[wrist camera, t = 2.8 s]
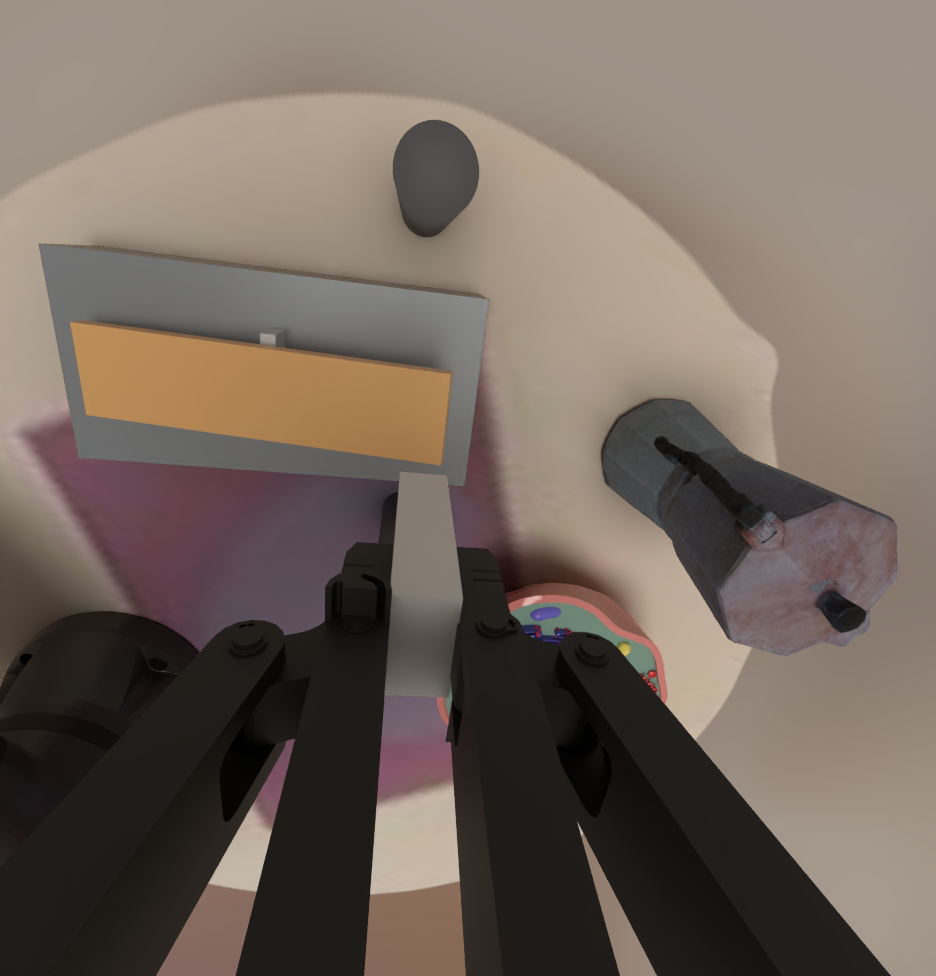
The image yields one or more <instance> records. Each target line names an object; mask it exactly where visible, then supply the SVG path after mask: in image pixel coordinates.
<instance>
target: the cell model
mask: <svg viewBox="0 0 936 976" xmlns="http://www.w3.org/2000/svg"><path fill="white" fill-rule="evenodd" d="M505 594H506V598H507V602H508V606H509V610H510V613H511V614H512V615H513V616H514V617H515V618H516V619H518V620H519V621H520V623H521V625H522V627H523V629H524V633H526V634H528V635H529V636H531V637H533V638H536V639H539V640H542V641H545V642H549V643H552V644H556V645H560V643H561V640H562V639H563V638H564V637H565V636H566V635H568V634H571V633H574V632H589V633H593V634H596V635H600V636H601V637H603V638H605V639H607V640H609V641H611V642H612V643H613V644H614V645H615V646H616V647H617V648H618V649H619V650H620V651H621V652H622V653H623V655H624V656H625V657H626V658H627V659H628V661H629V662H630V663H631V664H632V665H633V667H634V668H635V669H636V670H637V671H638V673H639V674H640V675H641V676H642V677H643V679H644V680H645V681H646V682H647V683H648V685H649V686H650V687H651V688H652V689H653V691H654V692H655V693H656V694H657V695H658V697H659V698H660V699H661V700H662V701H663V703H664V704H665V703H666V700H667V687H666V681H665V674H664V665H663V660H662V657H661V654H660V652H659V650H658V648H657V647H656V645H655V644H654V643H653V642H652V641H651V639H650V638H649V637H648V636H647V634H646V633H645V632H644V630H643V629H642V628H641V627H640V625H639V624H638V623H637V622H636V621H635V620H634V619H633V618H632V617H631V616H630V615H629V614H628V613H627V612H626V611H625V610H624V609H623V608H622V607H621V606H620V605H618V604H617V603H616V602H615V601H614V600H612V599H611V598H610V597H608V596H607V595H605V594H603V593H600V592H597V591H594V590H592V589H589V588H586V587H583V586H579V585H574V584H568V583H539V584H533V585H529V586H527V587H524V588H521V589H518V590H515V591H511V592H507V593H505ZM451 702H452V691H451V686H450V693H449V697H437V706H438V711H439V713H440V715H441V718H442V719H443V721H444V722H445V723H446V725H447V726H448V723H449V716H450V709H451Z"/></svg>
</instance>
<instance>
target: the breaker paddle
mask: <svg viewBox="0 0 936 976" xmlns="http://www.w3.org/2000/svg"><path fill="white" fill-rule="evenodd" d="M70 325H71V330H72V336H73V342H74V347H75V353H76V359H77V365H78V370H79V376H80V382H81V387H82V393H83V399H84V404H85V410H86V415H90V416H97V417H104V418H111V419H118V420H125V421H132V422H139V423H146V424H153V425H160V426H167V427H174V428H181V429H188V430H195V431H202V432H209V433H216V434H223V435H230V436H237V437H245V438H252V439H259V440H266V441H273V442H280V443H287V444H294V445H301V446H308V447H315V448H322V449H329V450H336V451H343V452H350V453H357V454H364V455H371V456H378V457H385V458H392V459H399V460H406V461H413V462H420V463H427V464H434V465H441V464H442V461H443V456H444V447H445V438H446V429H447V420H448V410H449V401H450V392H451V383H452V374H453V371H450V370H442V369H435V368H428V367H421V366H413V365H406V364H399V363H392V362H384V361H377V360H370V359H362V358H355V357H348V356H341V355H333V354H326V353H319V352H312V351H304V350H297V349H290V348H283V347H275V346H268V345H261V344H254V343H246V342H239V341H232V340H225V339H217V338H210V337H203V336H195V335H188V334H181V333H174V332H166V331H159V330H152V329H145V328H137V327H130V326H123V325H116V324H108V323H101V322H94V321H87V320H82V321H74V322H70Z"/></svg>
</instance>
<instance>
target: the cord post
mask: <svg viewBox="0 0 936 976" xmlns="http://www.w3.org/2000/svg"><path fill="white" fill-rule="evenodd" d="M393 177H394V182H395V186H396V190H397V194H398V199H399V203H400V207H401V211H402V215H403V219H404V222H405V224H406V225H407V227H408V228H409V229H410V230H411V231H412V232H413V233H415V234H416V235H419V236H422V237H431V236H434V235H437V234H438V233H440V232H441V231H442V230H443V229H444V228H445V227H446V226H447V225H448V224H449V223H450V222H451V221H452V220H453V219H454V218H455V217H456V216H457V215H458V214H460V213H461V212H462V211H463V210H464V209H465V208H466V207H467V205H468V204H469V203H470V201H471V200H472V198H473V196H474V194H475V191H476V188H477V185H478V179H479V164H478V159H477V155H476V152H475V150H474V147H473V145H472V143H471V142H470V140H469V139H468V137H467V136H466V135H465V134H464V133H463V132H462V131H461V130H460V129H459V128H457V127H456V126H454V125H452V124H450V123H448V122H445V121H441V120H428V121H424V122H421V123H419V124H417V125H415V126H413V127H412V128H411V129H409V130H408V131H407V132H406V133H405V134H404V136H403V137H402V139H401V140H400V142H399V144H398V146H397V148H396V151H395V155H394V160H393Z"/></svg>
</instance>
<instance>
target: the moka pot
mask: <svg viewBox="0 0 936 976" xmlns="http://www.w3.org/2000/svg"><path fill="white" fill-rule="evenodd" d="M602 462H603V471H604V477H605V482H606V484H607V485H608V486H609V487H610V488H611V489H612V490H614V491H615V492H616V493H617V494H619V495H620V496H621V497H622V498H623V499H625V500H626V501H627V502H628V503H629V504H631V505H632V506H633V507H634V508H636V509H637V510H638V511H640V512H641V513H642V514H643V515H645V516H646V517H648V518H649V519H650V520H651V521H653V522H654V523H655V524H656V525H658V526H659V527H660V528H662V529H663V530H664V531H665V533H666V534H667V535H668V536H669V537H670V539H671V540H672V542H673V546H674V549H675V552H676V555H677V557H678V558H679V560H680V562H681V563H682V565H683V566H684V568H685V570H686V571H687V573H688V574H689V576H690V578H691V579H692V581H693V583H694V584H695V586H696V587H697V589H698V590H699V592H700V594H701V595H702V597H703V599H704V600H705V602H706V603H707V605H708V607H709V608H710V610H711V612H712V613H713V615H714V617H715V618H716V620H717V621H718V623H719V624H720V626H721V628H722V629H723V631H724V633H725V634H726V636H727V638H728V639H729V640H731V641H733V642H735V643H738V644H742V645H746V646H750V647H754V648H757V649H761V650H764V651H768V652H772V653H775V654H778V655H785V656H787V655H790V654H792V653H795V652H798V651H800V650H803V649H806V648H809V647H811V646H813V645H816V644H819V643H822V642H825V643H829V644H833V645H836V646H839V647H844V646H847V644H849V643H850V642H851V641H852V639H853V638H855V637H856V636H857V635H860V634H863V633H865V632H866V631H867V630H868V629H869V628H870V617H869V610H870V609H871V608H872V607H873V605H874V604H875V603H876V602H877V601H878V599H879V598H880V597H881V596H882V595H883V594H884V593H885V591H886V590H887V589H888V588H889V587H890V586H891V584H892V583H893V582H894V581H895V580H896V578H897V526H896V524H895V522H894V520H893V519H892V518H891V517H889V516H887V515H885V514H883V513H880V512H878V511H875V510H873V509H871V508H868V507H866V506H863V505H861V504H859V503H857V502H854V501H852V500H850V499H847V498H845V497H843V496H840V495H838V494H836V493H833V492H831V491H829V490H826V489H824V488H821V487H819V486H817V485H815V484H812V483H810V482H807V481H805V480H803V479H800V478H798V477H796V476H794V475H791V474H789V473H787V472H784V471H781V470H779V469H776V468H774V467H772V466H769V465H767V464H764V463H761V462H759V461H756V460H754V459H753V458H751V457H749V456H748V455H746V454H744V453H741V452H740V451H739V450H738V449H737V448H736V447H735V446H734V445H733V444H732V443H731V442H730V441H729V440H728V439H727V438H726V437H725V436H724V435H723V434H722V433H720V432H719V431H718V430H717V429H716V428H715V427H714V426H713V425H712V424H711V423H710V422H709V421H708V420H707V419H706V418H705V417H704V416H703V415H702V414H701V413H700V412H699V411H698V410H697V409H696V408H695V407H694V406H693V405H692V404H691V403H689V402H684V401H679V400H655V401H652V402H649V403H646V404H644V405H642V406H640V407H639V408H637V409H635V410H633V411H631V412H630V413H628V414H627V415H625V416H623V417H621V418H620V419H619V421H618V422H617V424H616V425H615V427H614V428H613V430H612V432H611V433H610V435H609V437H608V439H607V441H606V444H605V447H604V451H603V455H602Z"/></svg>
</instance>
